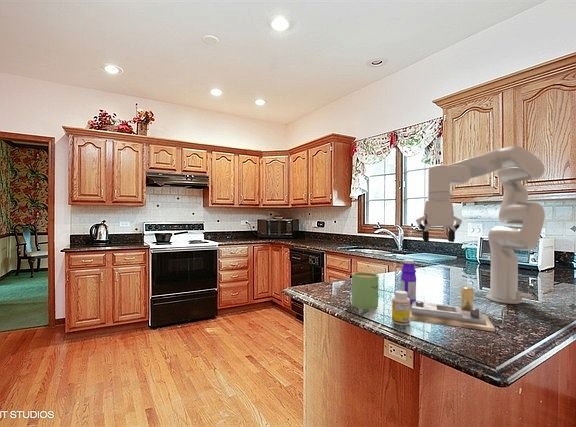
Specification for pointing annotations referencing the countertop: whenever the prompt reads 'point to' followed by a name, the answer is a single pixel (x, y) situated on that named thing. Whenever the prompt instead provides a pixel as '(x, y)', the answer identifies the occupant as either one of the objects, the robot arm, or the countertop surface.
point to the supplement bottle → (401, 308)
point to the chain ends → (447, 312)
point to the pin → (466, 298)
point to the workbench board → (454, 322)
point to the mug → (365, 290)
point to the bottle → (409, 279)
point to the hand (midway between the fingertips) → (438, 241)
